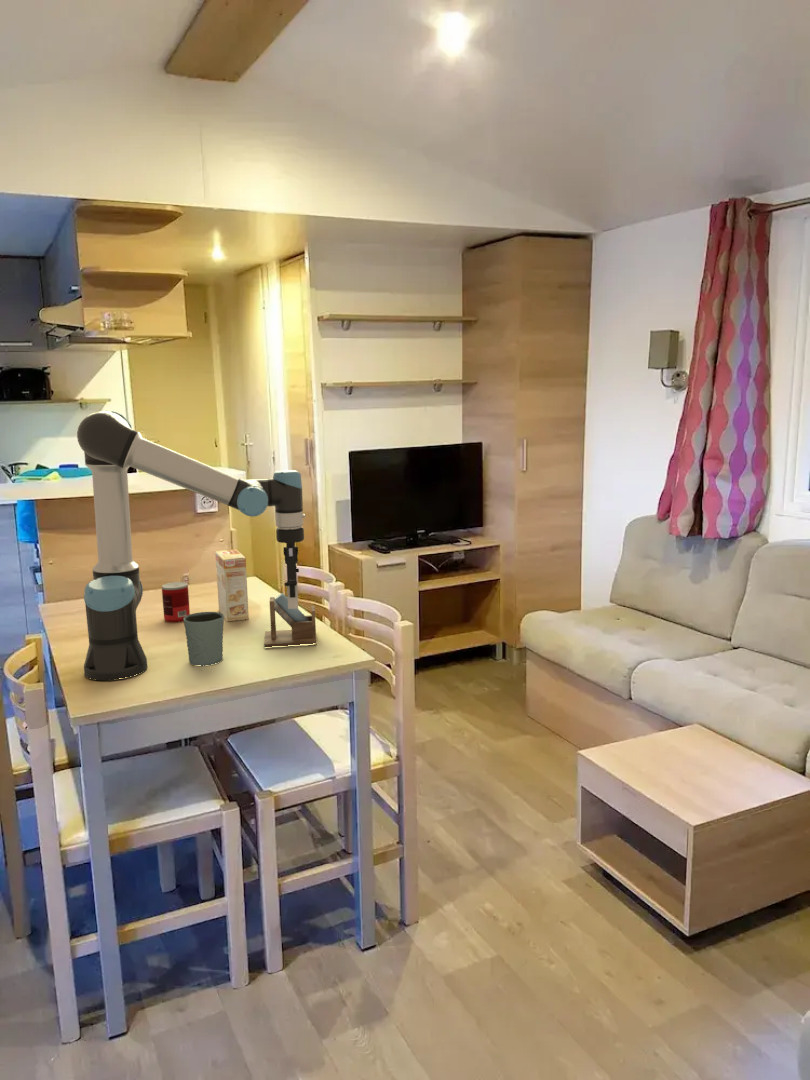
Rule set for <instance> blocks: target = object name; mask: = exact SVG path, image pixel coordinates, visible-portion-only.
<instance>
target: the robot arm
mask: <svg viewBox="0 0 810 1080" xmlns="http://www.w3.org/2000/svg"><path fill="white" fill-rule="evenodd" d="M76 435H77V436H76V438H77V442H78V445H79V447H80V448H81V450H82V451H83V452H84V453H83V454H84V463H85V464H84V465H85V466H86V467H87V468H88V469H89V470H90V471H91V475H92V477H91V478H92V489H93V490H92V491H93V492H92V493H93V502H94V505H93V506H94V520H95V533H96V547H97V563H96V564H95V565H94V566H93V567H92V578H93V579H92V580H91V581H89V582H88V583H86V585H85V587H84V594H83V600H84V604H85V614H86V623H87V625H86V626H87V634H88V635H87V637H88V649H87V651H86V656H85V661H84V664H83V674H84V677H85V676H86V677H88V678H91V679H96V680H113V681H115V680H114V679H119V678H125V677H130V676H133V677H135V676H134V675H136V674H139V673H141V672H142V673H144V672H145V671H147V669H148V658H147V656H146V654H145V652H144V649H143V646H142V645H141V643H140V640H139V637H138V636H139V635H138V624H137V608H138V606H139V605H140V603H141V601H142V597H143V594H144V590H143V584H142V581H141V576H140V575H141V574H140V565H139V564H138V563H137V562H136V561H135V560H134V559H133V547H132V545H133V543H132V529H131V526H132V525H131V513H130V496H129V494H130V493H129V479H128V470H129V468H130V467H131V468H133V469H135V470H138V471H139V472H140V471H141V472H143V473H146V474H148V475H150V476H152V477H156V478H158V479H161V480H164V481H165V482H169V483H171V484H173V485H176V486H178V487H180V488H184V489H186V490H189V491H191V492H193V493H196V494H197V495H198V494H199V495H201V496H202V497H206V498H208V499H210V500H214V501H216V502H218V503H221V504H223V505H226V506H228V507H230V508H232V509H235V510H238V511H239V512H241V513H242V514H243V515H245V516H246V517H251V518H252V517H258V516H260V515H261V514H263V513H264V512H265V511H266V510H267V507H274V511H275V512H274V519H275V526H276V527H277V528H276V529H275V532H276V533H275V535H276V541H277V542H278V543H280V544H286V546H283V556H284V564H286V579H287V580H286V582H284V587H286V588H287V589H286V591H287V598H288V609H297V608H298V609H299V597H298V596H299V594H298V593H299V590H298V573H300V569H299V568H297V564H298V556H299V546H296V543H301V542H303V541H304V539H305V532H304V531H305V529H304V527H303V525H304V519H305V518H306V514H305V513H303V510H304V508H303V506H304V505H303V504H304V503H303V483H302V474H301V472H300V471H298V470H294V469H283V470H275V471H274V472H273V476H272V478H262V479H261V478H260V479H258V478H257V479H242V478H239V477H237V476H235V475H232V474H229V473H227V472H225V471H223V470H219V469H218V468H215V467H213V466H210V465H208V464H205V463H203V462H202V461H201V462H200V461H199V460H197V459H193V458H191V457H188V456H187V455H184V454H181V453H179V452H177V451H175V450H172V449H170V448H167V447H166V446H162V445H160V444H158V443H155V442H153V441H151V440H148V439H146V438H143V437H142V434H141V432H139V431H138V430H135V429H133V427H132V424H131V423H130V421H129V420H128V419H127V418H126V417H124V415H123V414H121V413H119V412H116V411H111V410H110V411H109V410H101V411H100V410H99V411H97V412H94V413H93V412H92V413H91V414H89V415H87V416H85V418H83V420H82V421H81V422H80V423H79V425H78V427H77V432H76ZM143 671H144V672H143ZM142 673H141V674H142ZM139 675H140V674H139ZM136 676H137V675H136ZM86 677H85V678H86ZM88 678H87V679H88ZM130 678H131V677H130ZM91 679H90V680H91ZM96 680H95V681H96Z"/></svg>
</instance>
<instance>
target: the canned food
mask: <svg viewBox="0 0 810 1080" xmlns="http://www.w3.org/2000/svg"><path fill="white" fill-rule="evenodd" d="M189 594H190V593H189V585H188V583H187V582H183V581H173V582H167V583H165V584H163V585H161V596H162V597H161V598H162V606H163V608H162V610H163V618H164V621H165V622H166V623H170V624H171V623H172V624H174V623H175V624H176V623H182V622H183V623H184V620H183V618H184V617H185V616H187V615H190V614H191V611H190V597H189V596H190V595H189Z"/></svg>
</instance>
